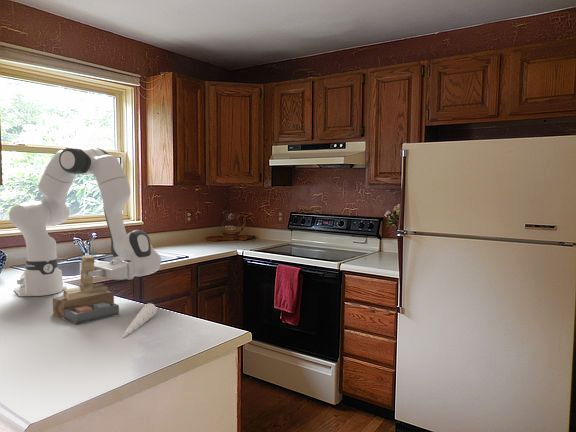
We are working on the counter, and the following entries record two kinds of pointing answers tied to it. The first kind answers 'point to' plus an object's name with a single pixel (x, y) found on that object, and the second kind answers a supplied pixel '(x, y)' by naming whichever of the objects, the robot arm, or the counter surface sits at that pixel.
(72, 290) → the wooden inverted t block
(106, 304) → the pale blue-grey cube
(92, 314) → the bin
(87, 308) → the salmon orange block
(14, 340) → the counter surface
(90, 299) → the wide wooden plinth
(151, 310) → the unicorn horn
